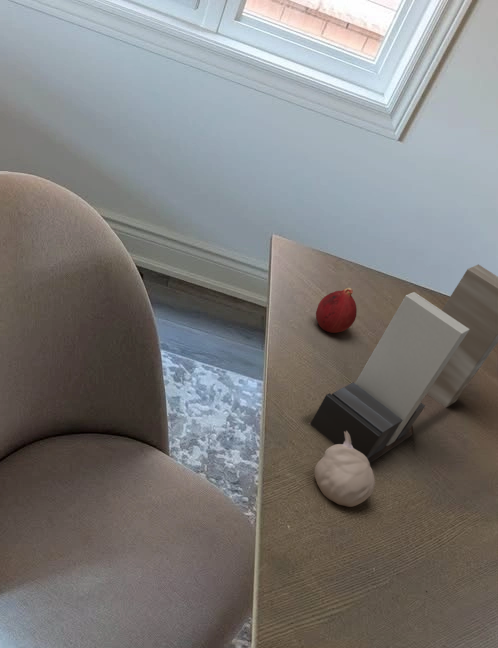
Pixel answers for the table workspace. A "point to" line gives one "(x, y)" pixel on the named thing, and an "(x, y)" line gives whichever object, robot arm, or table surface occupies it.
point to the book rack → (380, 423)
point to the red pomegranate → (336, 311)
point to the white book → (410, 357)
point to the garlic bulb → (345, 474)
